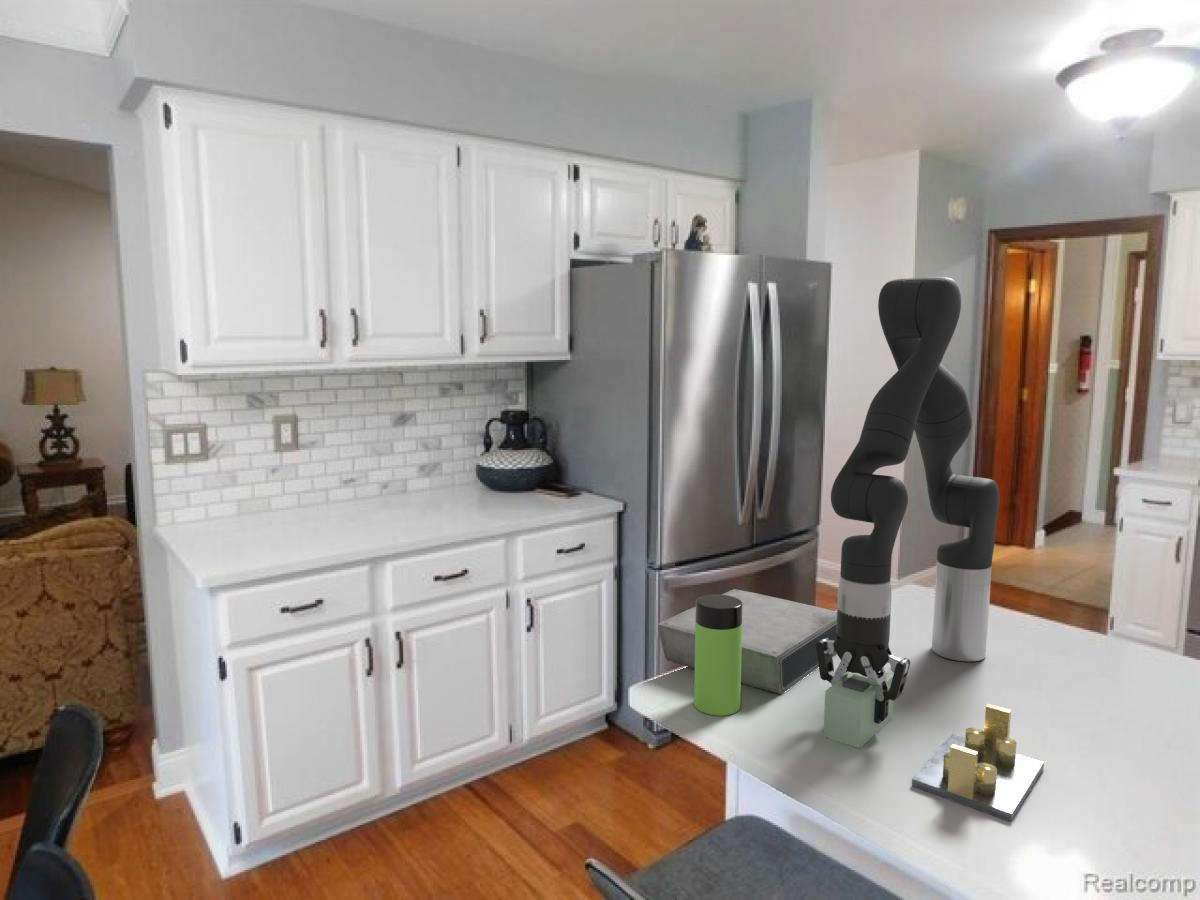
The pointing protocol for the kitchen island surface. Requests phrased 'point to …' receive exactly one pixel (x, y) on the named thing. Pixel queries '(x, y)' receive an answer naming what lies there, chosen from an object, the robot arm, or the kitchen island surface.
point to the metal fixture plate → (982, 768)
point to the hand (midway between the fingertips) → (858, 714)
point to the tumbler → (718, 654)
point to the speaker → (761, 639)
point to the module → (852, 710)
